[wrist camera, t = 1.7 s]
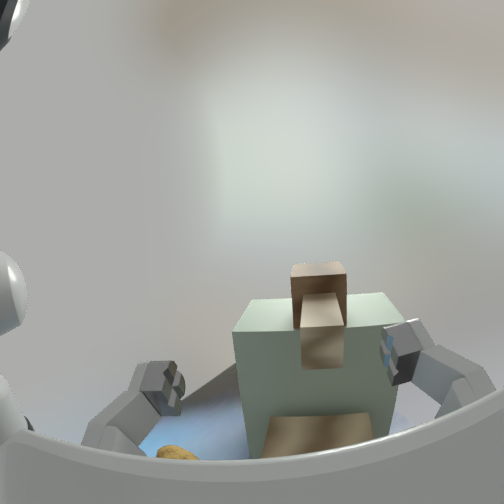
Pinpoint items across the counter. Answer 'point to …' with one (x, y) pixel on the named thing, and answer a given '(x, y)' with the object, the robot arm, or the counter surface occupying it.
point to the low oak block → (314, 433)
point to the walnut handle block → (320, 313)
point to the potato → (175, 453)
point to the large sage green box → (312, 381)
